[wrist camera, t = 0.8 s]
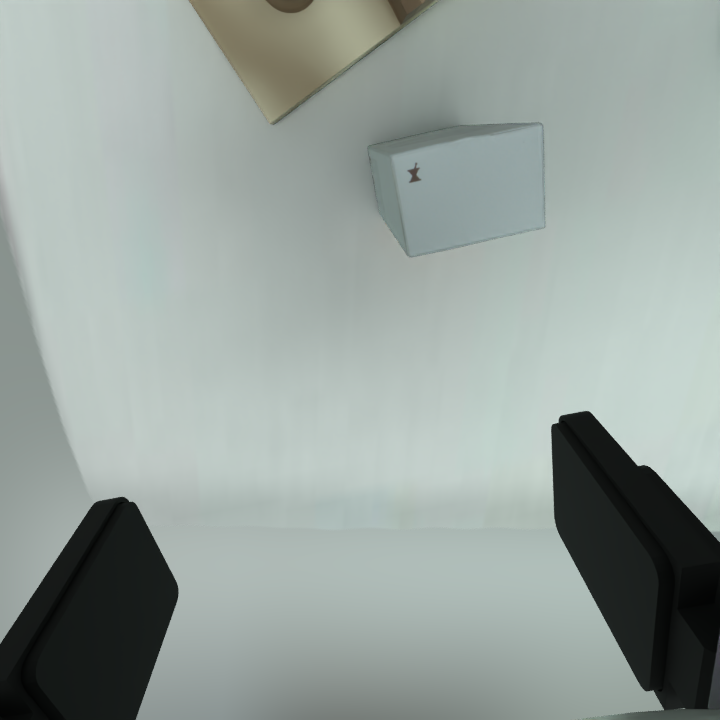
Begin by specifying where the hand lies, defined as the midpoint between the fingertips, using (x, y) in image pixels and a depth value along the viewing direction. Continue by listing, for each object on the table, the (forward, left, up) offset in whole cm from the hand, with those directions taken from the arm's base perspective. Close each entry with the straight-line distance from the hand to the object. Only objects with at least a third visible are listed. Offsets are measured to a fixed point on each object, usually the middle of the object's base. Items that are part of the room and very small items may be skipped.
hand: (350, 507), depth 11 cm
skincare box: (-7, -2, -24) cm, 25 cm away
